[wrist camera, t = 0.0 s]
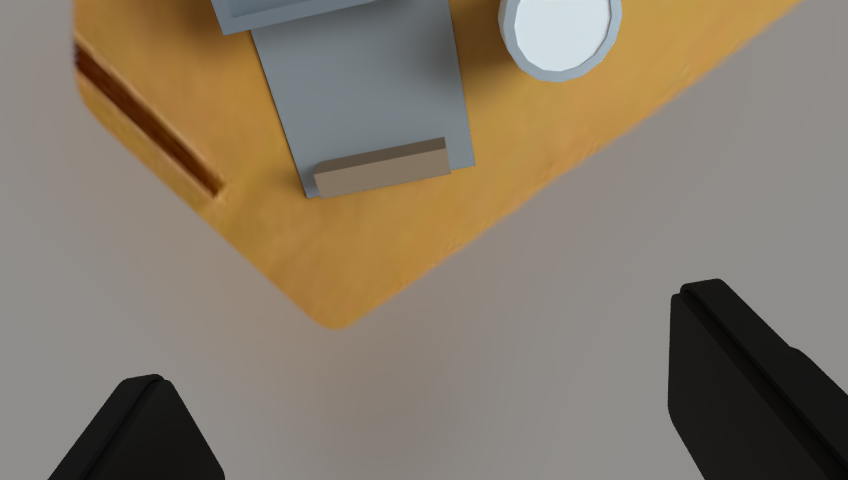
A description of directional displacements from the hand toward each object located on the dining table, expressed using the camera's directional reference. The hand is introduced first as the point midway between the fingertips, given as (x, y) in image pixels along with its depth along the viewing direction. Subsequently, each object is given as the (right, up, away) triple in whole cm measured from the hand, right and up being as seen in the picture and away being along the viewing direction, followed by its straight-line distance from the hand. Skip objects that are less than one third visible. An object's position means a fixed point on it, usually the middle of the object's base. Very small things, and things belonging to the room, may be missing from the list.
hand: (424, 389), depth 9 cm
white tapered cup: (+8, +19, +26) cm, 33 cm away
